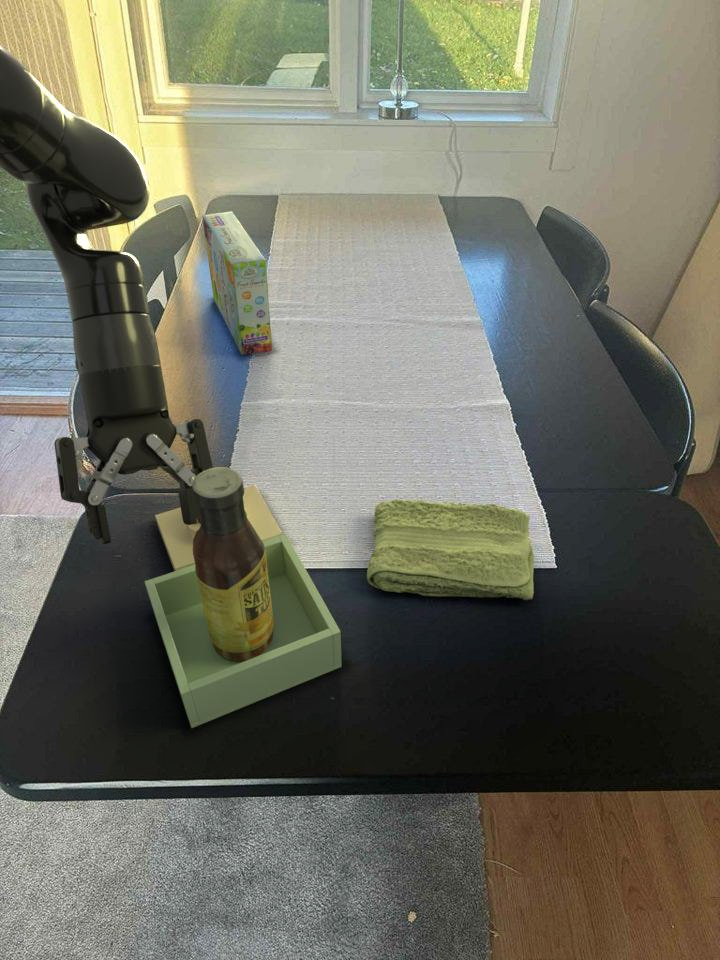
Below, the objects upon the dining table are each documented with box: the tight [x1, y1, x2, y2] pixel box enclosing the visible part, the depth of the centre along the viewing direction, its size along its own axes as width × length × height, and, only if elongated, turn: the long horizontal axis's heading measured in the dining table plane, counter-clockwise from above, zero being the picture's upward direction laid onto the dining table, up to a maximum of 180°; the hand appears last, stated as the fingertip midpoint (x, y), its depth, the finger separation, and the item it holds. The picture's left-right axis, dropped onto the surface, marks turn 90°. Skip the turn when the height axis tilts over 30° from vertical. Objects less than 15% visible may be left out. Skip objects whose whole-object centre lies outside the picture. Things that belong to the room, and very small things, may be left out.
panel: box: [154, 484, 283, 572], centre depth 78 cm, size 12×9×4 cm
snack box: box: [201, 210, 273, 356], centre depth 112 cm, size 21×6×15 cm, turn 22°
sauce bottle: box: [192, 466, 274, 662], centre depth 62 cm, size 6×6×20 cm
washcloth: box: [366, 499, 535, 601], centre depth 76 cm, size 13×18×3 cm
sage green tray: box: [144, 533, 343, 729], centre depth 67 cm, size 15×14×6 cm
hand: (149, 533), depth 69 cm, fingers open, 8 cm apart
